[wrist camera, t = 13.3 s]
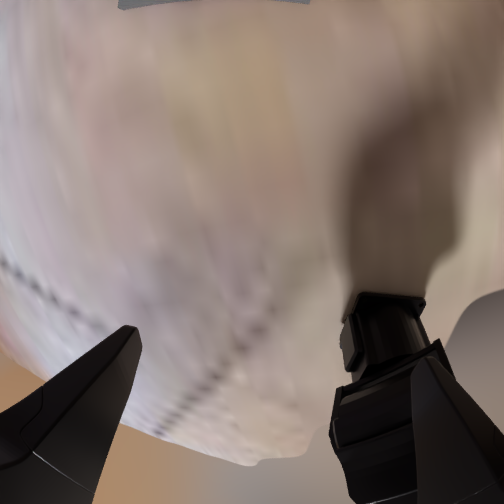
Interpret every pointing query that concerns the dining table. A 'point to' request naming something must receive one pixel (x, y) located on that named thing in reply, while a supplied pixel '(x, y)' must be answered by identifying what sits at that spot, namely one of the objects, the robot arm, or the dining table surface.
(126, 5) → the holder board
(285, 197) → the dining table surface
